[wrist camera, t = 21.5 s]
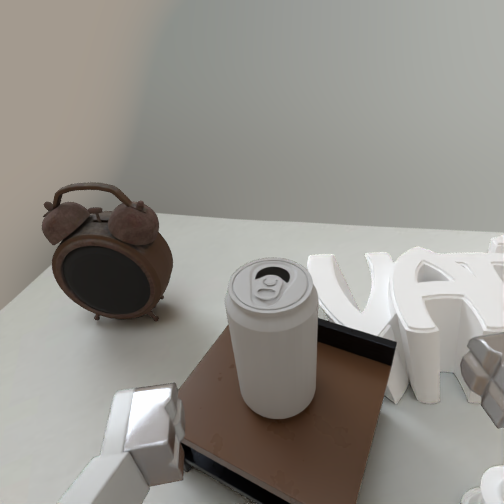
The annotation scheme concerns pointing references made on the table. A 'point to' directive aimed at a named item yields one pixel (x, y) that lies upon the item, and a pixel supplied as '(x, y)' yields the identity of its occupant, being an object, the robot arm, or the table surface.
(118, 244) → the alarm clock
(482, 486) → the candle
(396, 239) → the table surface
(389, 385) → the wavy white extrusion
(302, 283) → the beverage can
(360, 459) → the miniature side table
